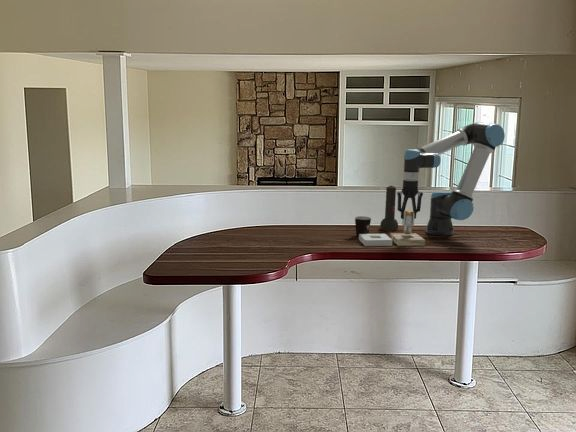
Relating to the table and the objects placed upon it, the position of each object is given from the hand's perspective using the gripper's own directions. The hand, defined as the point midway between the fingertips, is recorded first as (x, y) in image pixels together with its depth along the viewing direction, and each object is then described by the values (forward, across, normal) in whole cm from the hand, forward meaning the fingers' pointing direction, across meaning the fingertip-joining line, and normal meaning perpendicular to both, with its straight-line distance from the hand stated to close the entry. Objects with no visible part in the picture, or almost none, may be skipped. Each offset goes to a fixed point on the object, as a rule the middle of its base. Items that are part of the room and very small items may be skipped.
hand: (407, 224), depth 328 cm
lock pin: (+5, 0, 0) cm, 5 cm away
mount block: (+9, -17, 0) cm, 19 cm away
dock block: (+9, 0, 0) cm, 9 cm away
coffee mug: (+10, -19, +15) cm, 26 cm away
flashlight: (+10, -1, +31) cm, 32 cm away
